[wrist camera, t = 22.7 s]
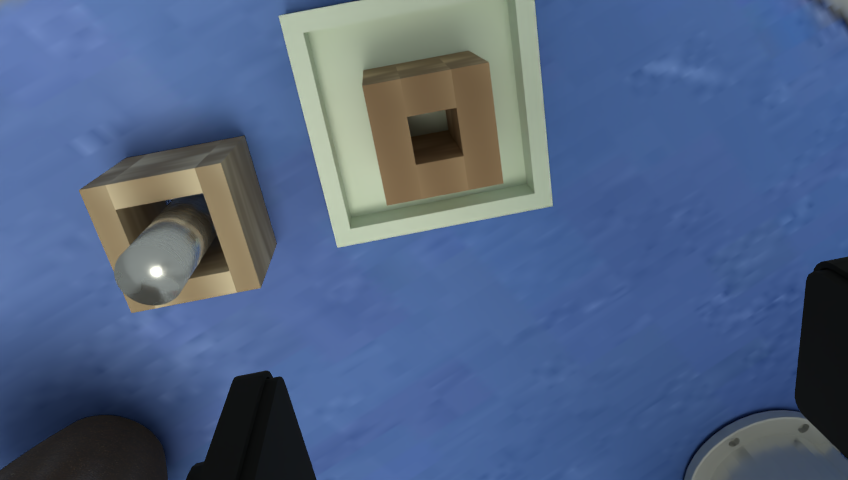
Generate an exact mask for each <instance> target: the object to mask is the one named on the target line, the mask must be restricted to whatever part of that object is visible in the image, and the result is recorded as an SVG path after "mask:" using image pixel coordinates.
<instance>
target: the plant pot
mask: <svg viewBox="0 0 848 480" xmlns="http://www.w3.org/2000/svg"><path fill="white" fill-rule="evenodd" d="M0 480H168V476H167V467H166V458H165V453H164V449H163V447H162V445H161V443H160V441H159V440H158V439H157V437H156V436H155V435H154V434H153V433H152V432H151V431H150V430H149V429H147V428H146V427H144V426H143V425H141V424H139V423H137V422H135V421H133V420H130V419H127V418H123V417H119V416H113V415H98V416H91V417H87V418H84V419H81V420H78V421H76V422H74V423H73V424H71V425H69V426H67V427H66V428H64V429H62V430H61V431H59V432H57V433H56V434H54V435H52V436H50V437H49V438H47V439H46V440H44V441H43V442H41V443H39V444H38V445H36V446H35V447H33V448H32V449H30V450H29V451H27V452H26V453H24V454H23V455H21V456H20V457H18V458H17V459H16V460H14V461H13V462H11V463H10V464H8V465H7V466H5V467H4V468H3V469H1V470H0Z"/></svg>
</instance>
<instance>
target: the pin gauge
mask: <svg viewBox="0 0 848 480" xmlns="http://www.w3.org/2000/svg"><path fill="white" fill-rule="evenodd" d="M216 235H217V233H216V230H215V227H214V224H213V221H212V218H211V215H210V212H209V209H208V206H207V203H206V200H205V197H204V195H203V193H201V194H195V195H190V196H185V197H180V198H174V199H173V200H172V201H171V202H170V203H169V204H168V205H167V207H166V208H165V209H164V210H163V211H162V212H161V213H160V214H159V215H158V216H157V217H156V218H155V219H154V220H153V221H152V222H151V224H150V225H149V226H148V227H147V228H146V229H145V230H144V231H143V232H142V233H141V234H140V235H139V236H138V237H137V238H136V239H135V240H134V242H133V243H132V244H131V245H130V246H129V247H128V248H127V249H126V250H125V251H124V252H123V253H122V254H121V255H120V256H119V258H118V259H117V261H116V264H115V268H114V275H115V280H116V283H117V285H118V286H119V288H120V289H121V291H122V292H123V293H124V294H125V295H126V296H128V297H129V298H130V299H132V300H134V301H136V302H138V303H141V304H145V305H152V306H155V305H163V304H166V303H169V302H171V301H172V300H174V299H175V298H176V297H177V296H178V295H179V294H180V292H181V291H182V289H183V288H184V286H185V285H186V283H187V281H188V280H189V278H190V277H191V275H192V273H193V272H194V270H195V269H196V267H197V265H198V264H199V262H200V261H201V259H202V257H203V256H204V254H205V253H206V251H207V249H208V248H209V246H210V245H211V243H212V241H213V240H214V238H215V237H216Z"/></svg>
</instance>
